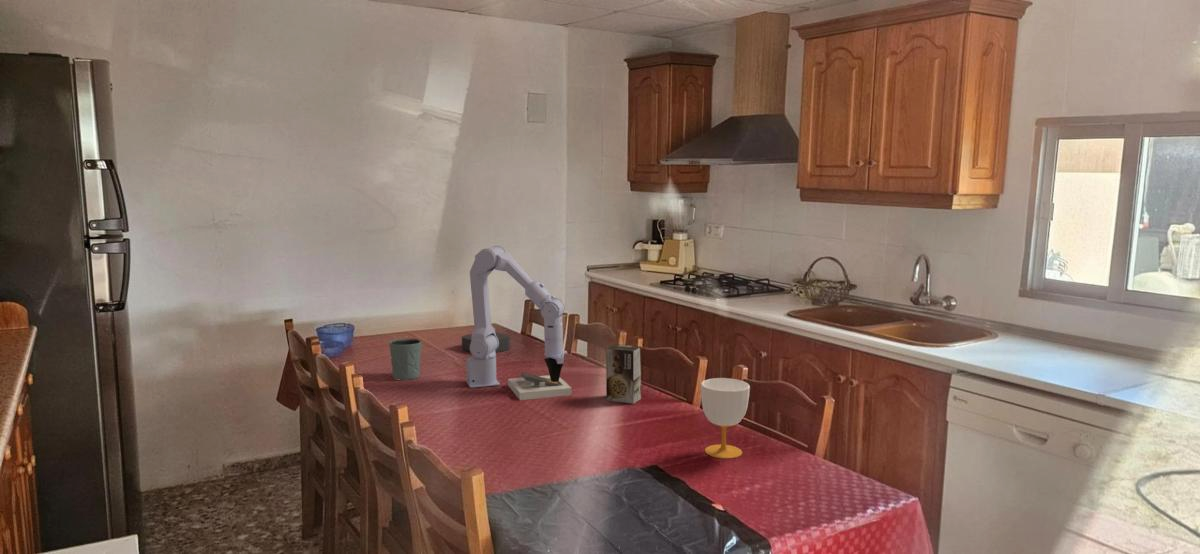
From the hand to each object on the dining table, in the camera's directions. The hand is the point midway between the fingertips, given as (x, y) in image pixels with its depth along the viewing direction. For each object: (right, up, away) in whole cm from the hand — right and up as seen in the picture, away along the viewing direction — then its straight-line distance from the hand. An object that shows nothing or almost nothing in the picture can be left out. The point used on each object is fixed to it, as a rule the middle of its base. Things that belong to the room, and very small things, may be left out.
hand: (554, 381), depth 244 cm
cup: (+44, -11, -52) cm, 69 cm away
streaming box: (-29, +5, +53) cm, 61 cm away
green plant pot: (-50, -1, +14) cm, 52 cm away
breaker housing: (-5, -3, -1) cm, 6 cm away
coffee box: (+21, -4, -10) cm, 24 cm away
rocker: (-5, 0, -1) cm, 5 cm away
